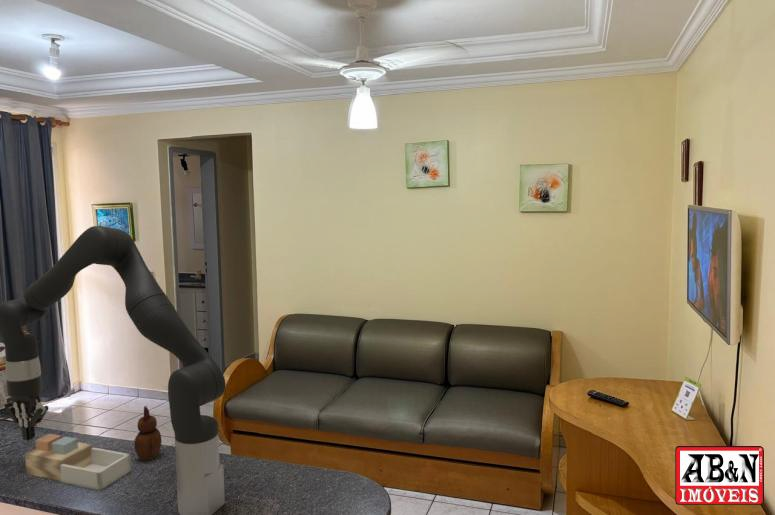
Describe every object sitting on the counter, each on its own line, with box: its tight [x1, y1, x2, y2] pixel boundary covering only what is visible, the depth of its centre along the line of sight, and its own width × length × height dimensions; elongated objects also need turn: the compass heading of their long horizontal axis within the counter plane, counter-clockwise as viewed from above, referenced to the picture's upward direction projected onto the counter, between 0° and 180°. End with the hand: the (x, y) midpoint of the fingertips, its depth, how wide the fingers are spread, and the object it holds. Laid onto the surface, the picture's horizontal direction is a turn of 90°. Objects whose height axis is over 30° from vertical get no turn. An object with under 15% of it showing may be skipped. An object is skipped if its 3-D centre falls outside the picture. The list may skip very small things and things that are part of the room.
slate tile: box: [52, 436, 79, 455], centre depth 141 cm, size 4×4×2 cm
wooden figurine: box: [134, 405, 163, 461], centre depth 148 cm, size 7×6×15 cm
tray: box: [60, 447, 132, 492], centre depth 138 cm, size 12×10×4 cm
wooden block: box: [24, 441, 93, 482], centre depth 142 cm, size 12×9×6 cm
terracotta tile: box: [34, 433, 62, 452], centre depth 142 cm, size 4×4×2 cm
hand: (28, 439), depth 144 cm, fingers closed
